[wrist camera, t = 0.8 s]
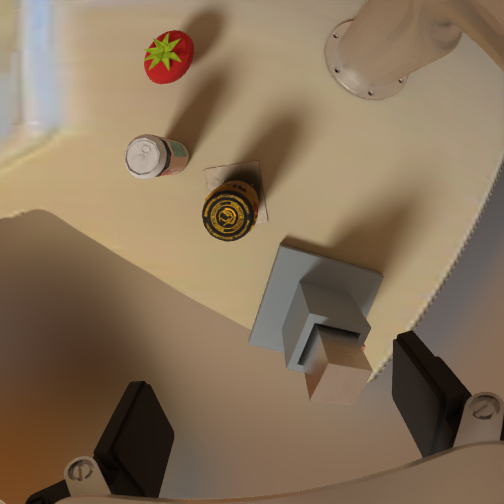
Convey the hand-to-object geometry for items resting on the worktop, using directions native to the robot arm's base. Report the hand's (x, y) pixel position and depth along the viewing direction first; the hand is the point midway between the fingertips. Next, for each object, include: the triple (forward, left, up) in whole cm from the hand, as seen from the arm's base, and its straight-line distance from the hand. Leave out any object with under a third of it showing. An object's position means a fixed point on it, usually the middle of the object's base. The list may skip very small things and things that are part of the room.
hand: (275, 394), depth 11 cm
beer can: (+6, -14, -34) cm, 38 cm away
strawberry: (-1, -25, -34) cm, 42 cm away
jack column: (-1, +15, -32) cm, 36 cm away
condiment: (+1, -5, -34) cm, 35 cm away
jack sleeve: (-1, +15, -34) cm, 37 cm away
